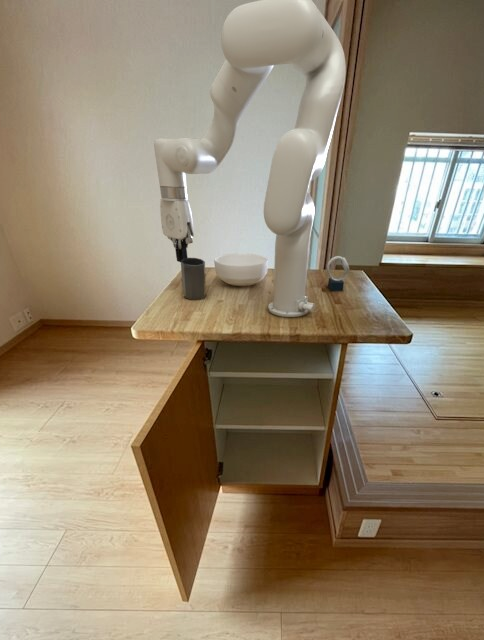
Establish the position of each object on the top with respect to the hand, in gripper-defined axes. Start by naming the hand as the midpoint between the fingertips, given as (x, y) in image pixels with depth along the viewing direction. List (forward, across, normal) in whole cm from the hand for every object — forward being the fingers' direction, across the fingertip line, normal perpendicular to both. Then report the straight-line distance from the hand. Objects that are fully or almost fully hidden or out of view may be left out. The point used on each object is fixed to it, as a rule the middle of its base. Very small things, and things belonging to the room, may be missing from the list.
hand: (182, 261), depth 101 cm
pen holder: (+10, +4, 0) cm, 11 cm away
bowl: (+11, +6, +22) cm, 25 cm away
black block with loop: (+10, +37, +39) cm, 55 cm away
